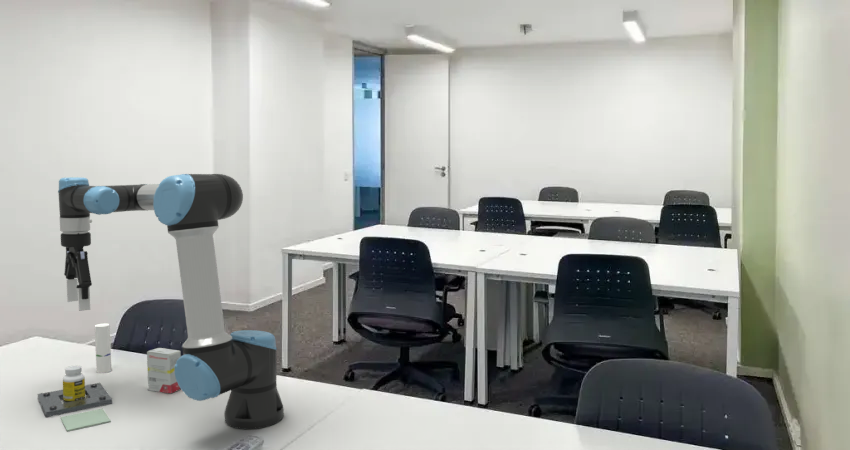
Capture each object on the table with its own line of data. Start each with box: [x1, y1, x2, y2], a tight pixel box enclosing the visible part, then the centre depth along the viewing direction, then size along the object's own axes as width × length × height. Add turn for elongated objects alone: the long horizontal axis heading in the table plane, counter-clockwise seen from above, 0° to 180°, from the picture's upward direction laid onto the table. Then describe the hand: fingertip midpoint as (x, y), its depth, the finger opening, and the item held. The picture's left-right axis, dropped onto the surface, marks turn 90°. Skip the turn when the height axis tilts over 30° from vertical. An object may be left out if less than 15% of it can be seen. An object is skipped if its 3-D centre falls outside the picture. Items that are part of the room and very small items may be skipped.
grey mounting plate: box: [37, 382, 113, 418], centre depth 179 cm, size 16×16×2 cm
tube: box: [94, 322, 113, 374], centre depth 204 cm, size 4×4×15 cm
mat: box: [60, 408, 112, 432], centre depth 167 cm, size 10×10×1 cm
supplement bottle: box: [62, 364, 86, 403], centre depth 179 cm, size 5×5×10 cm
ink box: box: [146, 347, 182, 394], centre depth 189 cm, size 9×5×12 cm, turn 70°
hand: (78, 305), depth 184 cm, fingers open, 13 cm apart
